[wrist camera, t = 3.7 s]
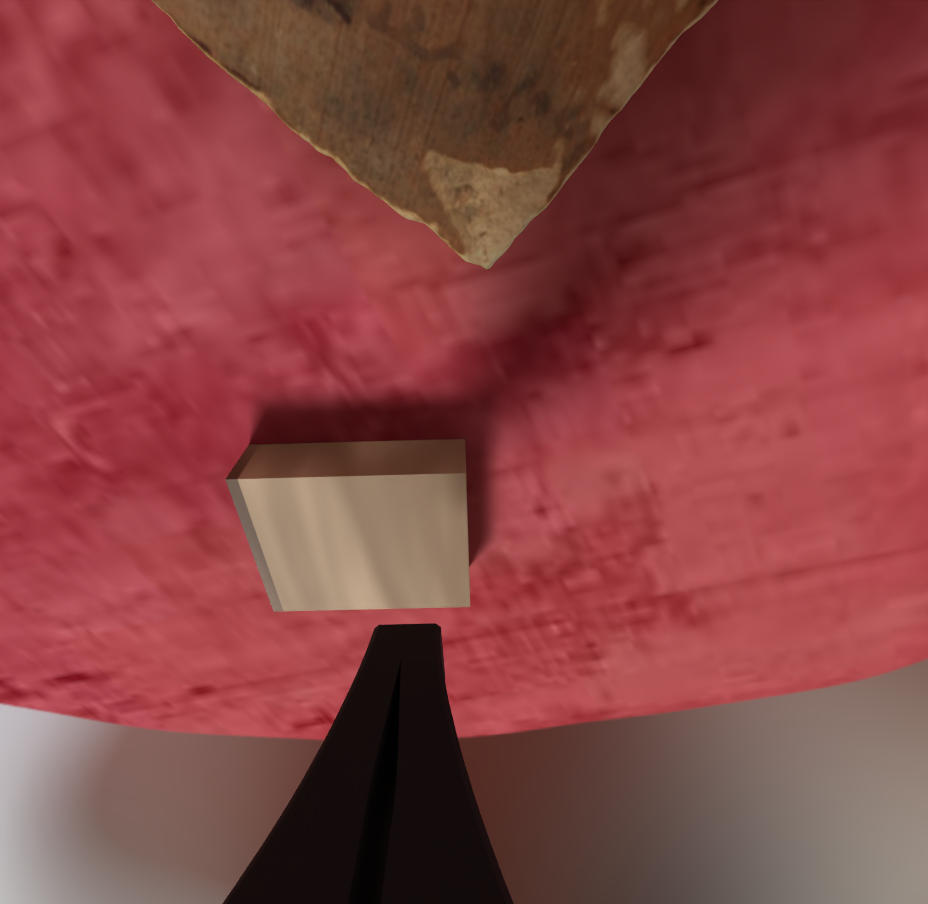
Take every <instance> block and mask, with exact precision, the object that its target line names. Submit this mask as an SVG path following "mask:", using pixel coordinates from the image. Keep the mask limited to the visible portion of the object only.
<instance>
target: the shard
mask: <svg viewBox="0 0 928 904" xmlns="http://www.w3.org/2000/svg"><path fill="white" fill-rule="evenodd" d="M152 1H153V2H154V3H155V4H156V5H157V7H159V8H160V9H161V10H162V11H164V12H165V13H166V14H167V15H169V16H170V17H171V18H172V20H173V21H174V22H175V24H176V25H177V26H178V28H179V29H180V30H181V31H182V32H183V33H184V34H185V35H186V36H187V37H188V38H189V39H190V40H191V41H192V42H193V43H194V44H195V45H196V46H197V47H198V48H199V49H200V50H201V51H202V52H203V53H204V54H205V55H206V56H207V57H209V58H210V59H211V60H212V61H214V62H215V63H216V64H217V65H219V66H220V67H221V68H222V69H223V70H225V71H226V72H227V73H228V74H229V75H230V76H232V77H233V78H234V79H235V80H236V81H238V82H239V83H241V84H242V85H244V86H245V87H246V88H248V89H249V90H250V91H251V92H253V93H254V94H255V95H256V96H257V97H259V98H260V99H261V100H262V101H263V102H265V103H266V104H267V105H268V106H269V107H270V108H271V109H272V110H273V111H274V112H275V113H276V114H277V116H278V117H279V118H280V119H281V120H282V121H283V122H284V123H285V124H286V125H287V126H288V127H289V128H290V129H291V130H293V131H294V132H295V133H297V134H298V135H299V136H300V137H301V138H302V139H304V140H306V141H307V142H309V143H310V144H311V145H312V146H313V147H314V148H315V149H316V150H317V151H318V152H320V153H322V154H324V155H327V156H330V157H332V158H333V159H334V160H335V161H336V162H337V163H338V164H339V165H340V166H341V167H343V168H344V169H345V170H346V171H347V173H348V174H349V175H350V176H351V178H352V179H353V180H354V181H355V182H357V183H359V184H360V185H362V186H364V187H366V188H368V189H369V190H370V191H371V192H372V193H374V194H375V195H376V196H378V197H379V198H380V199H382V200H383V201H385V202H386V203H387V204H388V205H389V206H390V207H391V208H392V209H394V210H395V211H396V212H397V213H399V214H400V215H401V216H403V217H404V218H407V219H410V220H414V221H418V222H421V223H424V224H426V225H427V226H428V227H429V228H430V229H432V230H433V231H434V232H435V233H436V234H437V235H438V236H439V237H440V238H441V239H442V240H443V241H444V242H445V243H446V244H447V245H448V246H450V247H451V248H452V249H453V250H454V251H455V252H456V253H457V254H458V255H459V256H460V257H461V258H462V259H463V260H464V261H467V262H470V263H473V264H477V265H480V266H482V267H484V268H485V269H489V268H491V266H492V265H493V264H494V263H495V261H496V260H497V259H498V258H499V257H500V256H501V255H502V254H503V253H504V252H505V251H506V250H507V249H508V248H509V247H510V245H511V244H512V242H513V240H514V238H515V237H516V236H518V235H519V234H520V233H521V232H522V231H523V230H524V229H525V227H526V226H527V225H528V223H529V222H530V221H531V220H532V219H533V218H535V217H536V216H537V215H538V214H539V213H541V212H542V211H543V210H544V209H545V208H546V207H547V206H548V205H549V204H550V202H551V201H552V200H553V199H554V197H555V196H556V195H557V193H558V192H559V191H560V189H561V188H562V186H563V185H564V183H565V182H566V181H567V180H568V179H569V177H570V176H571V175H572V174H573V173H574V171H575V170H576V169H577V168H578V166H579V165H580V164H581V163H582V161H583V160H584V159H585V158H586V156H587V155H588V154H589V152H590V151H591V150H592V148H593V147H594V145H595V144H596V142H597V141H598V139H599V137H600V135H601V133H602V132H603V130H604V129H605V127H606V126H607V125H608V123H609V122H610V121H611V120H612V119H613V117H615V116H616V115H617V114H618V113H619V112H620V111H621V110H622V109H623V107H624V106H625V105H626V103H627V102H628V100H629V99H630V98H631V96H632V95H633V94H634V93H635V92H636V91H637V90H638V89H639V88H640V86H641V85H642V83H643V82H644V81H645V79H646V78H647V76H648V75H649V74H650V73H651V71H652V70H653V69H654V67H655V66H656V65H657V64H658V62H659V61H660V60H661V59H662V57H663V56H664V55H665V54H666V52H667V51H668V50H669V49H670V48H671V46H672V45H673V44H674V43H675V42H676V40H677V39H678V38H679V37H680V35H681V34H682V33H683V32H685V31H686V30H687V29H688V28H690V27H691V26H692V25H693V24H695V23H696V22H697V21H699V20H700V19H701V18H702V17H703V16H704V15H705V14H706V13H707V12H708V11H709V10H710V8H711V7H713V6H714V5H715V4H716V3H717V2H718V0H152Z"/></svg>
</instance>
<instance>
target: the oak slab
mask: <svg viewBox="0 0 928 904" xmlns="http://www.w3.org/2000/svg"><path fill="white" fill-rule="evenodd" d="M225 480H226V482H227V485H228V488H229V490H230V493H231V496H232V499H233V501H234V504H235V507H236V510H237V512H238V515H239V518H240V521H241V523H242V526H243V529H244V532H245V534H246V537H247V540H248V542H249V545H250V548H251V551H252V553H253V556H254V559H255V562H256V564H257V567H258V570H259V573H260V575H261V578H262V581H263V584H264V586H265V589H266V592H267V594H268V597H269V600H270V603H271V605H272V608H273V611H313V610H355V609H397V608H440V607H470V579H469V543H468V511H467V479H466V447H465V439H441V440H404V441H367V442H330V443H293V444H256V445H248V447H247V448H246V450H245V451H244V453H243V454H242V456H241V457H240V459H239V460H238V462H237V463H236V465H235V466H234V468H233V469H232V471H231V472H230V474H229V475H228V477H227V478H226V479H225Z"/></svg>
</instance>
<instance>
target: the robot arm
mask: <svg viewBox="0 0 928 904" xmlns="http://www.w3.org/2000/svg"><path fill="white" fill-rule="evenodd" d="M223 904H513V901H512V899H511V896H510V894H509V891H508V889H507V886H506V884H505V881H504V879H503V876H502V873H501V870H500V868H499V865H498V862H497V859H496V857H495V854H494V851H493V848H492V846H491V843H490V840H489V837H488V834H487V832H486V829H485V826H484V823H483V820H482V817H481V814H480V811H479V808H478V805H477V802H476V799H475V796H474V793H473V790H472V786H471V783H470V780H469V777H468V773H467V770H466V767H465V763H464V760H463V757H462V753H461V749H460V745H459V742H458V738H457V734H456V730H455V726H454V721H453V717H452V713H451V709H450V705H449V700H448V695H447V690H446V684H445V670H444V659H443V647H442V636H441V627H440V626H438V625H437V624H396V625H378V626H377V627H376V628H375V629H374V631H373V634H372V637H371V640H370V643H369V645H368V648H367V651H366V653H365V656H364V658H363V660H362V663H361V665H360V668H359V670H358V672H357V674H356V677H355V679H354V681H353V683H352V685H351V688H350V690H349V692H348V694H347V696H346V698H345V700H344V702H343V704H342V706H341V708H340V710H339V712H338V714H337V716H336V718H335V720H334V722H333V725H332V727H331V729H330V730H329V732H328V734H327V736H326V738H325V740H324V742H323V744H322V745H321V747H320V749H319V751H318V753H317V754H316V756H315V758H314V760H313V762H312V763H311V765H310V767H309V769H308V771H307V772H306V774H305V776H304V778H303V780H302V781H301V783H300V785H299V787H298V788H297V790H296V792H295V793H294V795H293V797H292V798H291V800H290V802H289V803H288V805H287V807H286V808H285V810H284V811H283V813H282V815H281V816H280V818H279V820H278V821H277V823H276V824H275V826H274V827H273V829H272V831H271V832H270V834H269V835H268V837H267V839H266V840H265V842H264V843H263V845H262V846H261V848H260V849H259V851H258V852H257V854H256V855H255V857H254V858H253V860H252V861H251V863H250V864H249V866H248V867H247V869H246V870H245V872H244V873H243V875H242V876H241V877H240V879H239V880H238V882H237V884H236V885H235V887H234V888H233V889H232V891H231V892H230V894H229V895H228V896H227V898H226V899H225V901H224V903H223Z"/></svg>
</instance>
